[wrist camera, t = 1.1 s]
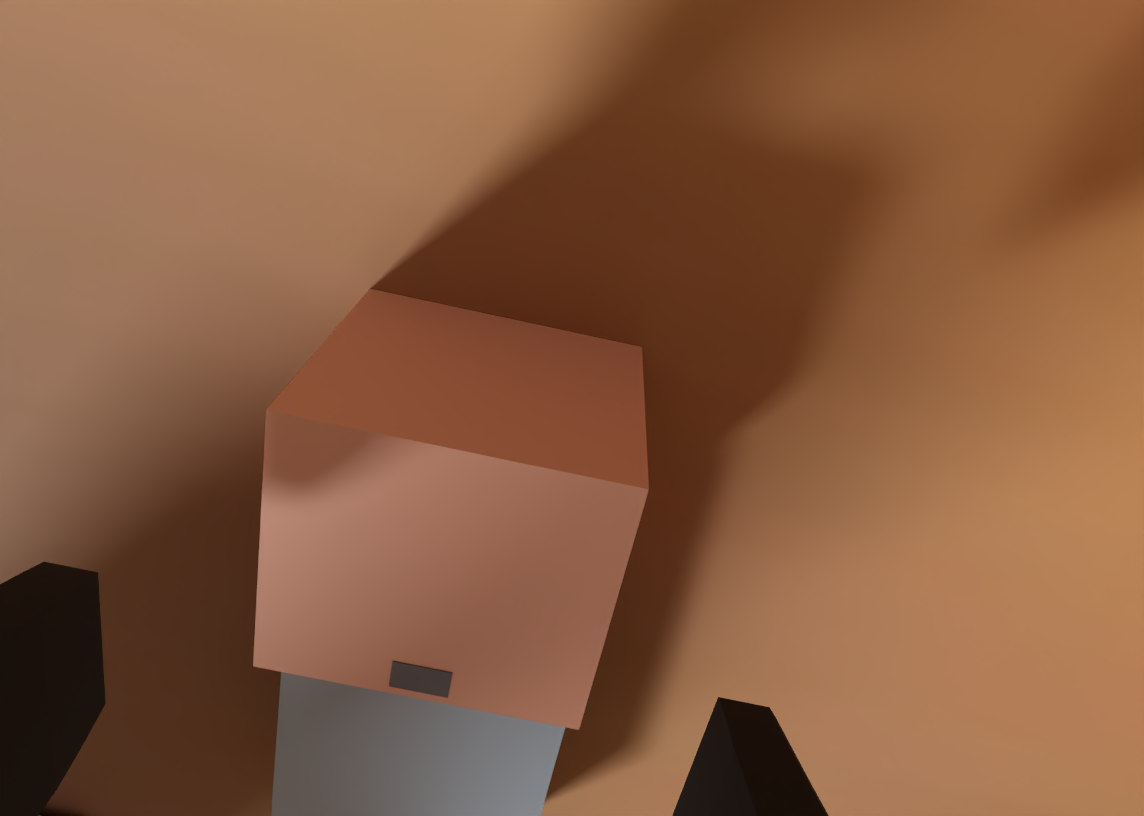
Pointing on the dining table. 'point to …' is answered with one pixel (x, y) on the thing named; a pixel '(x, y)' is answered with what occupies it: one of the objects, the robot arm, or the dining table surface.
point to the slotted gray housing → (404, 755)
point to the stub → (451, 508)
